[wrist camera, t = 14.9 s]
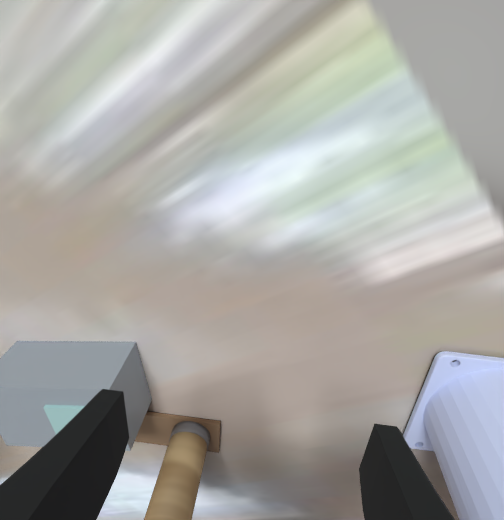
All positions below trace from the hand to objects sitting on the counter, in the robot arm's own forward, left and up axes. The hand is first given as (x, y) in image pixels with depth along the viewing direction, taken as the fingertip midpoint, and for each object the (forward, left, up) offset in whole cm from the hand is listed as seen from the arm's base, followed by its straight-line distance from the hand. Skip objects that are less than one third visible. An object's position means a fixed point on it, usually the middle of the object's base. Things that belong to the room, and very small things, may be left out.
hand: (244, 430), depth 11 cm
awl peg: (+4, +14, -10) cm, 17 cm away
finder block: (+11, +9, -10) cm, 18 cm away
